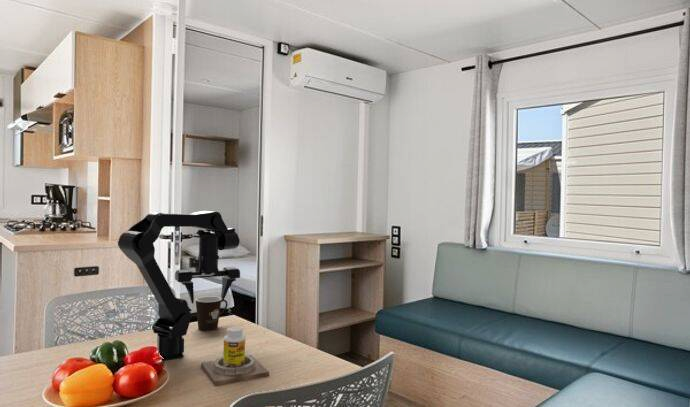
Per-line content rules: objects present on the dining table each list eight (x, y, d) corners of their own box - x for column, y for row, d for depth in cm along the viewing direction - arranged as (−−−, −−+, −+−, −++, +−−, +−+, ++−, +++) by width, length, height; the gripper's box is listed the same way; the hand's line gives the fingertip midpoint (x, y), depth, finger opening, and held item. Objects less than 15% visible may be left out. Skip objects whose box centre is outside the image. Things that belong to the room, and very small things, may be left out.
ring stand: (214, 385, 114) (215, 375, 114) (201, 366, 126) (201, 357, 126) (269, 375, 121) (269, 366, 121) (250, 358, 133) (251, 349, 133)
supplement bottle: (225, 372, 120) (226, 332, 119) (221, 364, 125) (222, 326, 124) (246, 369, 122) (247, 330, 122) (241, 362, 127) (242, 324, 127)
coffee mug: (197, 333, 155) (198, 303, 154) (192, 326, 162) (193, 297, 162) (232, 329, 160) (232, 300, 160) (226, 322, 168) (227, 294, 167)
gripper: (230, 247, 155) (229, 294, 156) (172, 249, 146) (171, 299, 146) (241, 251, 146) (240, 301, 146) (179, 254, 136) (178, 307, 137)
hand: (207, 301), depth 144 cm, fingers open, 9 cm apart
